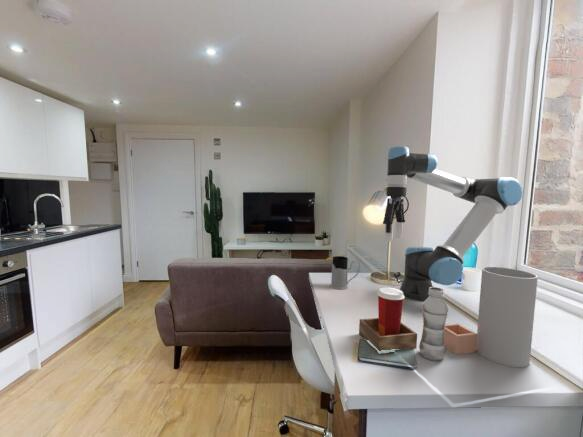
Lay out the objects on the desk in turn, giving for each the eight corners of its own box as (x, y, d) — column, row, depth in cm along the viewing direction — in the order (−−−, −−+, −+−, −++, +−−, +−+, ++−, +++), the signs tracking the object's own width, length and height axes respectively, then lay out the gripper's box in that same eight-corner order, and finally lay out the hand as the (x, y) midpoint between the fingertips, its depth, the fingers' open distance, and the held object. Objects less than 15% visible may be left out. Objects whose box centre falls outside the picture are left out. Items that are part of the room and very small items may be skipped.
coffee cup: (406, 336, 91) (408, 291, 90) (396, 346, 85) (398, 297, 84) (381, 328, 97) (383, 285, 95) (370, 336, 90) (372, 290, 89)
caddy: (392, 330, 97) (392, 316, 96) (416, 349, 85) (417, 333, 84) (358, 334, 94) (359, 319, 93) (379, 354, 82) (380, 337, 81)
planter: (456, 341, 90) (458, 323, 90) (475, 353, 83) (477, 334, 83) (438, 343, 88) (439, 325, 88) (456, 356, 82) (457, 336, 81)
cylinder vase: (533, 375, 74) (542, 281, 72) (476, 359, 80) (483, 273, 78) (525, 353, 84) (532, 271, 82) (475, 341, 91) (481, 264, 89)
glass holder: (330, 283, 148) (331, 255, 147) (358, 285, 146) (359, 257, 145) (330, 289, 139) (331, 259, 138) (359, 291, 138) (361, 260, 136)
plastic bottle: (414, 351, 83) (418, 285, 82) (436, 351, 84) (440, 285, 83) (426, 364, 77) (431, 293, 76) (450, 364, 78) (455, 293, 76)
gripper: (395, 187, 125) (393, 235, 127) (376, 185, 105) (373, 241, 106) (413, 188, 121) (411, 237, 122) (397, 184, 101) (394, 244, 102)
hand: (393, 239), depth 114 cm, fingers open, 13 cm apart
